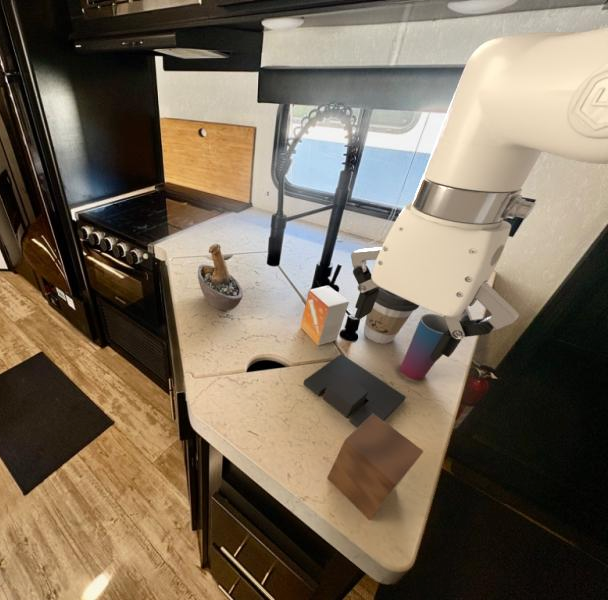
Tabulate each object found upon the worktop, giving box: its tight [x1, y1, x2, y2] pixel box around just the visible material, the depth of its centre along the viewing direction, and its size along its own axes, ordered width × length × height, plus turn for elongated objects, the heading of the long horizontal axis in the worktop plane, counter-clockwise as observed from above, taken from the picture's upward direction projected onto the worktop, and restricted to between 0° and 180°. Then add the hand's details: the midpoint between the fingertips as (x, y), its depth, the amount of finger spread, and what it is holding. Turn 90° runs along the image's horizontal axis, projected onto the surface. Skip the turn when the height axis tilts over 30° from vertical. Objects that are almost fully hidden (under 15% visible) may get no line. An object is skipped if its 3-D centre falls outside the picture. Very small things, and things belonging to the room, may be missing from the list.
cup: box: [399, 313, 449, 381], centre depth 70 cm, size 7×7×15 cm
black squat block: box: [322, 374, 368, 419], centre depth 66 cm, size 6×6×4 cm
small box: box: [300, 285, 350, 346], centre depth 82 cm, size 8×6×13 cm
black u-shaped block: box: [303, 353, 407, 429], centre depth 69 cm, size 16×14×2 cm
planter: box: [197, 243, 244, 312], centre depth 91 cm, size 15×17×20 cm
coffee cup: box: [363, 286, 420, 345], centre depth 81 cm, size 11×11×15 cm
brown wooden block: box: [326, 413, 424, 521], centre depth 50 cm, size 8×8×12 cm
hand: (397, 333), depth 40 cm, fingers open, 9 cm apart
